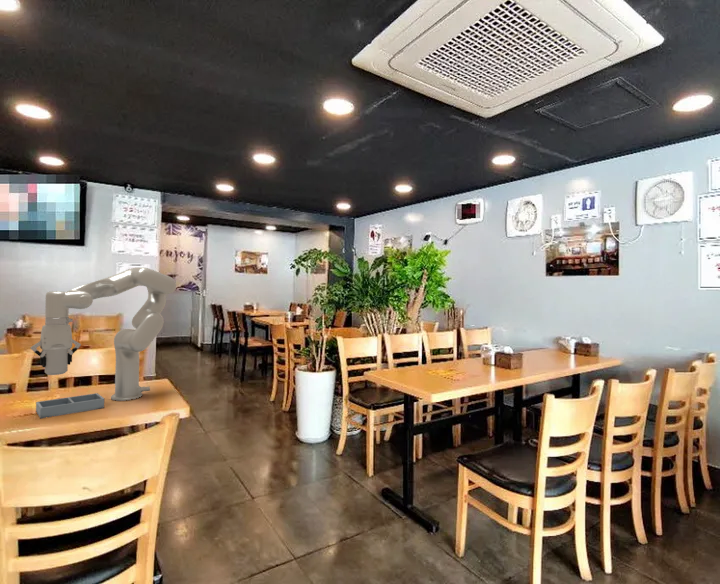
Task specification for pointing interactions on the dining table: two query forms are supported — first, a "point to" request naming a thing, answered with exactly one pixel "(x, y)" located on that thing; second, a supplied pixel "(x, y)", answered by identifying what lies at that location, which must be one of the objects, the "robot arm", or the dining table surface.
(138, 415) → the dining table surface
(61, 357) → the can
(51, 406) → the tray
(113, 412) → the dining table surface
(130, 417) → the dining table surface
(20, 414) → the dining table surface
